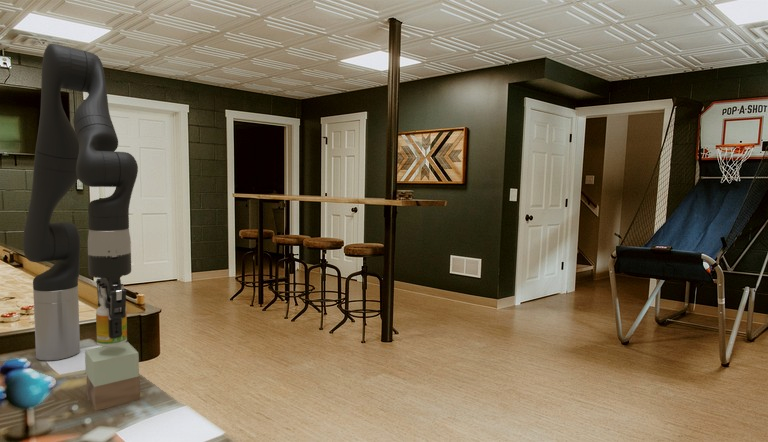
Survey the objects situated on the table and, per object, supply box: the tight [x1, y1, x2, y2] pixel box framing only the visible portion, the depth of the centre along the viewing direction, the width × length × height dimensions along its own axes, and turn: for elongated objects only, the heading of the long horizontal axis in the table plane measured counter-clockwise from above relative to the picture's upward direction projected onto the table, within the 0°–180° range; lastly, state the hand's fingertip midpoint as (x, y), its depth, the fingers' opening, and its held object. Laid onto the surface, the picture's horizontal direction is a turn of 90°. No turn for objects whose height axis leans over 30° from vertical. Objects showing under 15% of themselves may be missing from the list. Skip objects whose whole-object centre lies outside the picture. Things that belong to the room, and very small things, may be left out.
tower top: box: [84, 341, 140, 387], centre depth 99 cm, size 8×8×5 cm
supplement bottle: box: [95, 296, 128, 347], centre depth 98 cm, size 5×5×10 cm
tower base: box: [86, 375, 141, 412], centre depth 99 cm, size 8×8×5 cm
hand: (111, 333), depth 98 cm, fingers closed on supplement bottle, 5 cm apart
